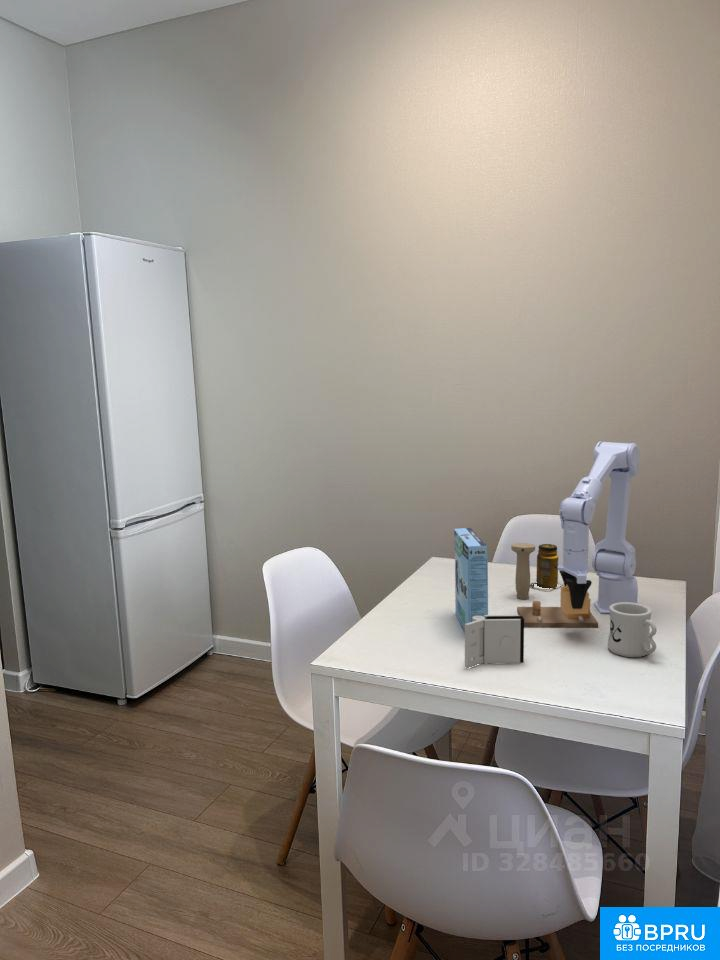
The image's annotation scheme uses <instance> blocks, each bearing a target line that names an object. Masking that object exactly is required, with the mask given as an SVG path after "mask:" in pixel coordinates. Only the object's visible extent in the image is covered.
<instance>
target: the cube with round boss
mask: <svg viewBox="0 0 720 960" xmlns="http://www.w3.org/2000/svg"><path fill="white" fill-rule="evenodd" d="M589 598H590V592H589V591H587V593H586V596H585V599H584V603H583V607H582V609H573V608H572V604H571V597H570V591H569V587H568V585H567V584H566V586H564V585H563V586H561V587H560V606H559V607H561V608H562V610H563V611H564V613H565V614H588V611H589Z"/></svg>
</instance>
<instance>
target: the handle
mask: <svg viewBox="0 0 720 960" xmlns="http://www.w3.org/2000/svg"><path fill="white" fill-rule="evenodd" d="M510 547H511V551H513V552H514V553H515V554H516V567H515V590H516V591H515V592H516V598H517V599H519V600H528V599H529V595H530V589H531V587H530V584H531V567H530V566H531V565H530V564H531V563H530V555H531V553H534V552H535V551H536V544H534V543H528V542H527V543H525V542H516V543H515V542H514V543H511V545H510Z"/></svg>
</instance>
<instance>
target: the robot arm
mask: <svg viewBox="0 0 720 960" xmlns="http://www.w3.org/2000/svg"><path fill="white" fill-rule="evenodd" d="M640 453H641V452H640V450H639V447H638V445H637V443H635V442H632V443H627V442H613V441H612V442H608V441H598V442H597V444H595V446H594V450H593V461H594V463H593V465H592V467H591V470H590V471H589V474H588V476H585V477H582V478H581V479H580V480H579V482H578V484H577V486H576V487H575V489H574V490H573V492H572V493H571V495H570V497H566V498H565V499H562V501H561V503H560V505H559V506H560V507H559V510H558V511H559V512H558V516H559V519H560V527H561V529H562V530H563V532H562V534H563V535H562V536H563V537H562V538H563V539H562V541H563V542H562V564H561V565H558V573H559V574H560V576H561V579H562V581H563V586H566V584H567V585H568V587H569V591H570V597H571V604H572V608H573V609H582V607H583V603H584V599H585V596H586V593H587V591H588V590H589V589H590V587H591V586H592V584H593V583H592V581H591V580H590V579H587V574H588V572H589V569H590V567H589V543H590V542H589V541H590V537H589V535H590V524H591V522H592V521H593V518H594V515H595V510H596V507H597V506H596V503H597V502H598V500H599V499H600V496H601V495H602V494H603V490H604V487H603V483H604V482H605V481H606V479H607V478H608V477H609V478H610V485H609V486H610V487H609V494H608V495H609V498H608V507H607V517H606V518H607V519H606V528H605V529H606V530H605V538H603V539H602V540H600V541H599V542H597V543H596V544H595V546H594V551H593V554H592V558H591V567H592V569H593V571H594V572H596V576H598V594H597V595H598V597H597V600H598V601H594V602H593V605H594V607H595V608H596V609H597V610H598V612H599V613H600V614H610V610H609V607H610V606H611V605H612V604H614V603H620V602H630V603H637V604H638V595H639V593H638V592H639V587H638V580H637V578H636V576H634V574H635V572H636V566H637V558H636V548H635V547H634V546H633V545H632V544H631V543H630V542H629V541H627V539H626V533H627V523H628V514H629V513H628V512H629V501H630V493H631V484H632V483H631V482H632V477H634V476H637V475H638V471H639V468H640V467H639V466H640V456H641V454H640ZM588 592H589V591H588Z"/></svg>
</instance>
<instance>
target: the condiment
mask: <svg viewBox="0 0 720 960" xmlns="http://www.w3.org/2000/svg"><path fill="white" fill-rule="evenodd" d="M537 549H538V551H537V555H536V582H537V583H536V582H534V583H530V588H531V587H533V588H532V589H534V584H537V586H539V587H542V588H549V589H547V590H545V589H540V590H539V591H542V592H550V591H553V590H554V589H550V588H556V587H557V584H560V585H563V584H561V583H559V570H558V566H559V555H558V546H557V545H555V544H551V543H541V544H539V546H538V548H537ZM532 584H533V585H532ZM556 589H557V588H556ZM536 590H538V588H537V589H536Z"/></svg>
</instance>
